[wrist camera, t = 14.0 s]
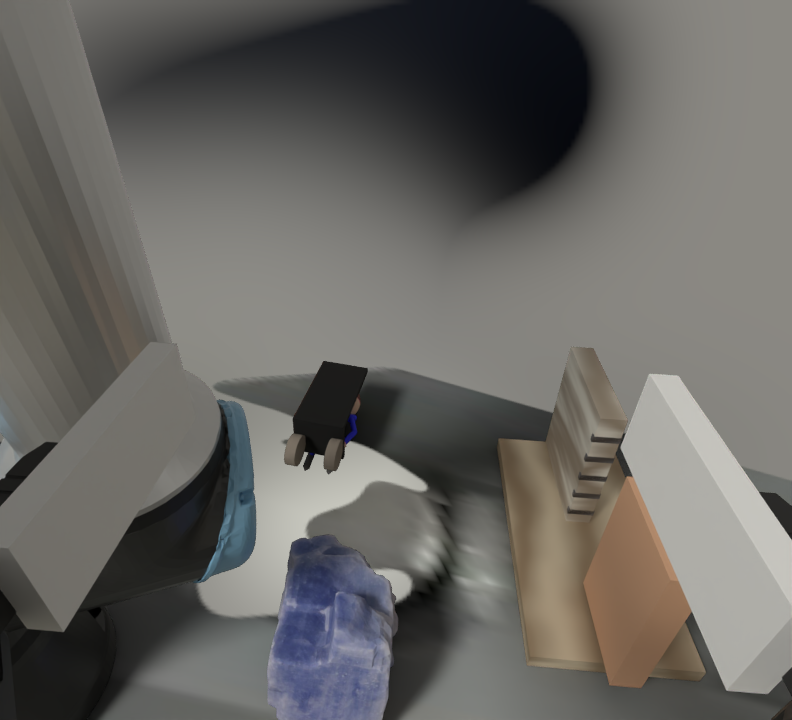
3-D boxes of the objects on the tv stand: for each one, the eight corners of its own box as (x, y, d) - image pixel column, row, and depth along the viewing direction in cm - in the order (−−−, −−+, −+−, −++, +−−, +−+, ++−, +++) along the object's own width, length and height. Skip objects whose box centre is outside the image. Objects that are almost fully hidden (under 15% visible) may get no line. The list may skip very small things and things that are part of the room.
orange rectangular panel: (609, 685, 38) (670, 580, 31) (583, 582, 46) (626, 476, 38) (641, 688, 38) (710, 583, 31) (609, 584, 45) (658, 478, 38)
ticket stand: (526, 665, 41) (568, 550, 33) (497, 447, 63) (517, 343, 54) (699, 681, 41) (788, 568, 32) (609, 455, 62) (647, 351, 53)
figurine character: (342, 496, 57) (371, 404, 69) (338, 453, 52) (369, 362, 64) (286, 487, 58) (323, 397, 70) (277, 444, 53) (318, 356, 65)
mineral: (416, 664, 32) (256, 672, 31) (403, 744, 37) (262, 754, 35) (394, 504, 45) (281, 505, 44) (387, 577, 50) (283, 580, 48)
